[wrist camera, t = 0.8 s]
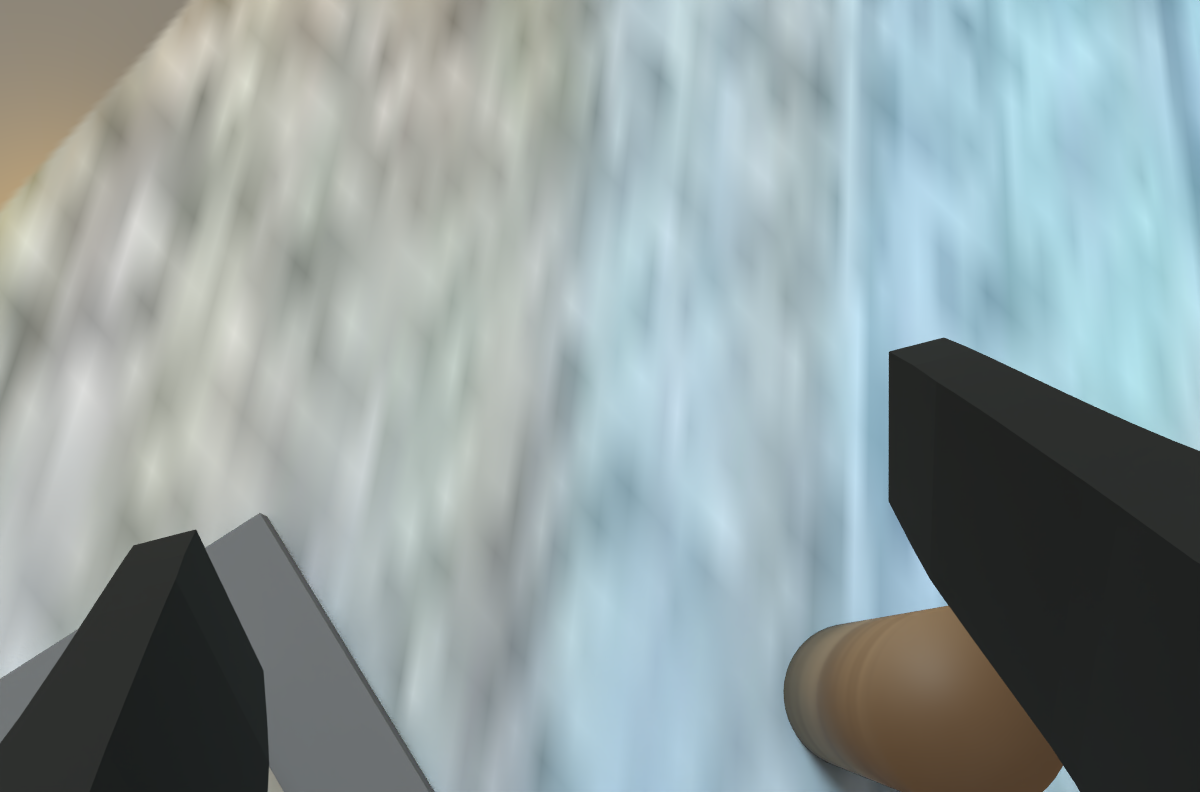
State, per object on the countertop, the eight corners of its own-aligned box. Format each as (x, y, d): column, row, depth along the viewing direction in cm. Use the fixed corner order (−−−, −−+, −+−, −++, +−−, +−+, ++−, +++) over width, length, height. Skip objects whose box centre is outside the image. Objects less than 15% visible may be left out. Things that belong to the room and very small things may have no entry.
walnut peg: (952, 714, 25) (1116, 736, 17) (840, 798, 25) (955, 858, 17) (866, 596, 26) (987, 565, 18) (755, 676, 25) (830, 679, 17)
